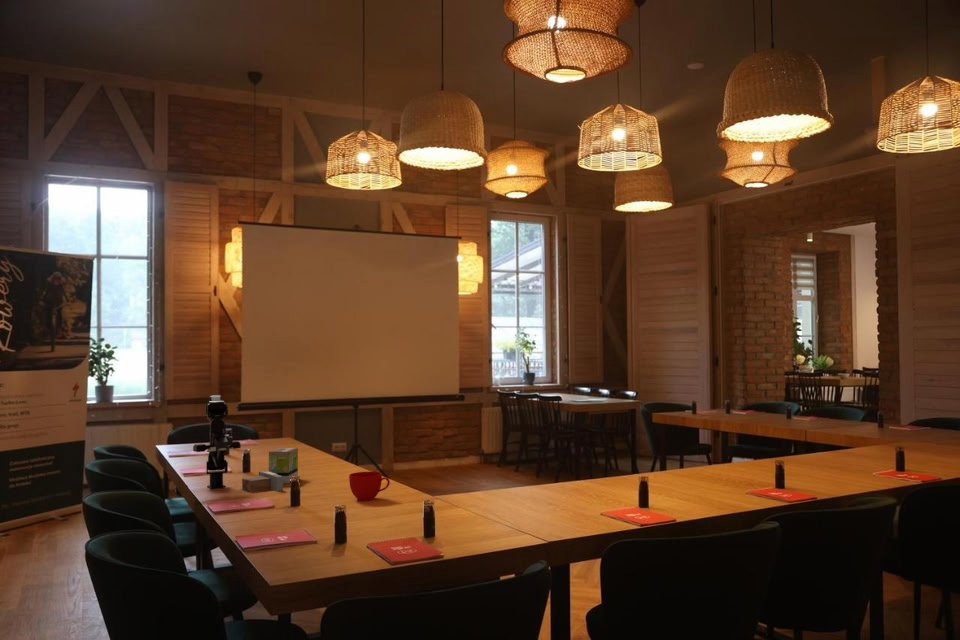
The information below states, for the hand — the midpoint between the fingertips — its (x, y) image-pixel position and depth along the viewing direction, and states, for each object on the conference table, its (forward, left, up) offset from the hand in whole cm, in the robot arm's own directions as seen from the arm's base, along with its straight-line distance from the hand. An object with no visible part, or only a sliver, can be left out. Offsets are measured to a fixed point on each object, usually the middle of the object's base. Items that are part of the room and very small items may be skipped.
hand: (217, 466), depth 328 cm
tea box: (-8, +33, -11) cm, 36 cm away
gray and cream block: (+5, +22, -11) cm, 25 cm away
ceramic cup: (+61, +41, -11) cm, 74 cm away
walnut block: (+4, +16, -11) cm, 20 cm away
